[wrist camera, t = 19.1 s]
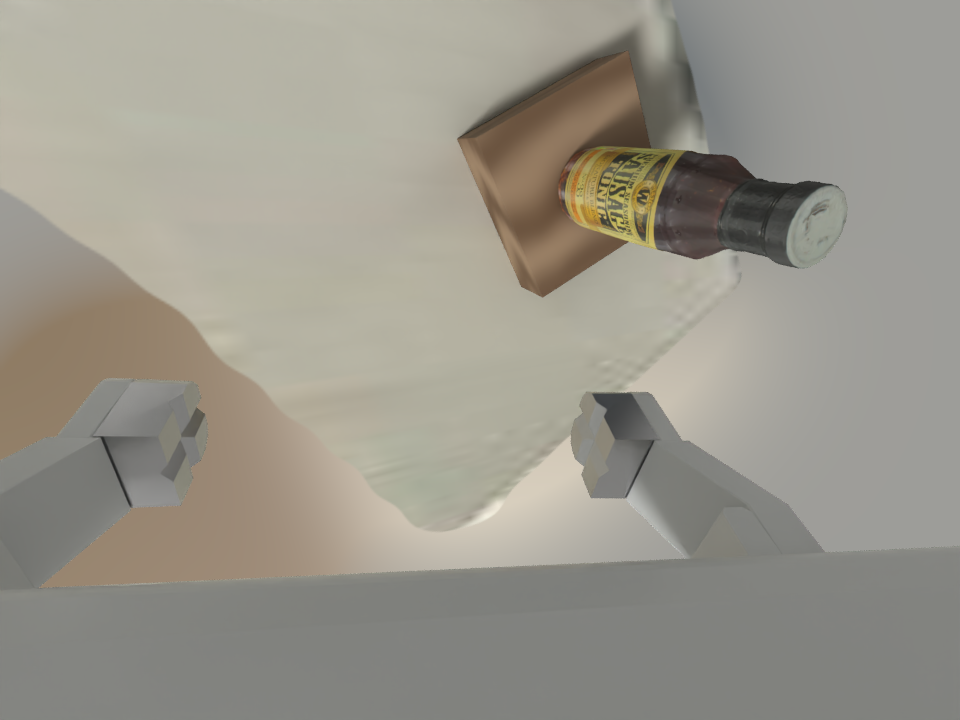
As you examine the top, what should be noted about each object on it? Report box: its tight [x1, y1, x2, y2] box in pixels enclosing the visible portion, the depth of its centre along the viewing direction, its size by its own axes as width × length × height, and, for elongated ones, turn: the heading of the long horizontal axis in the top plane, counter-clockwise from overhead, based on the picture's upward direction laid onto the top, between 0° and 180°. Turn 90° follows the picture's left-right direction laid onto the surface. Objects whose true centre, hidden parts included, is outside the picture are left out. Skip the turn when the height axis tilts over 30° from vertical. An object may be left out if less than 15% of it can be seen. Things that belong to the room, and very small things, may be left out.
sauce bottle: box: [558, 146, 847, 268], centre depth 32 cm, size 7×6×20 cm
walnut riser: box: [457, 51, 651, 297], centre depth 41 cm, size 14×14×4 cm
